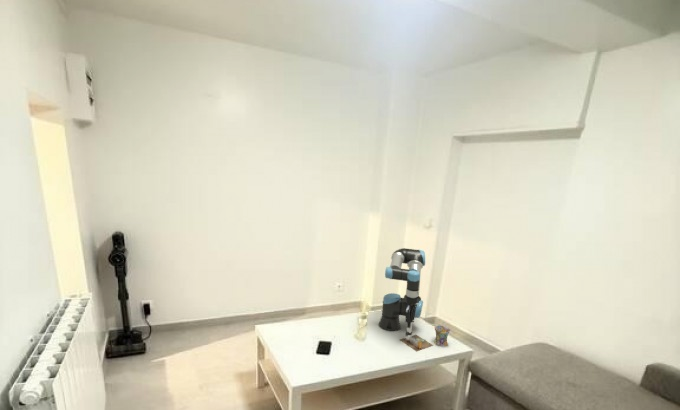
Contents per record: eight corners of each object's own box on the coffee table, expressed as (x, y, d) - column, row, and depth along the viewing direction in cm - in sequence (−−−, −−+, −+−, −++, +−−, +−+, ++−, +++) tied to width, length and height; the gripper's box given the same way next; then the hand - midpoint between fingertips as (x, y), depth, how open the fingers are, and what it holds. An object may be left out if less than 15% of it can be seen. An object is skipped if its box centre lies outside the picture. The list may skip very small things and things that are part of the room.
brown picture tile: (399, 341, 203) (399, 339, 203) (415, 336, 211) (415, 334, 211) (416, 353, 190) (416, 351, 190) (433, 347, 198) (433, 345, 198)
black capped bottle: (403, 340, 202) (404, 331, 201) (408, 338, 204) (409, 330, 204) (417, 349, 192) (418, 340, 191) (422, 347, 194) (423, 339, 194)
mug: (451, 348, 198) (452, 332, 197) (437, 349, 196) (439, 332, 195) (441, 338, 210) (443, 323, 209) (428, 339, 208) (430, 323, 207)
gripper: (413, 300, 191) (410, 337, 193) (421, 294, 201) (418, 330, 204) (401, 297, 196) (398, 333, 198) (410, 291, 206) (408, 326, 208)
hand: (409, 331), depth 201 cm, fingers closed
